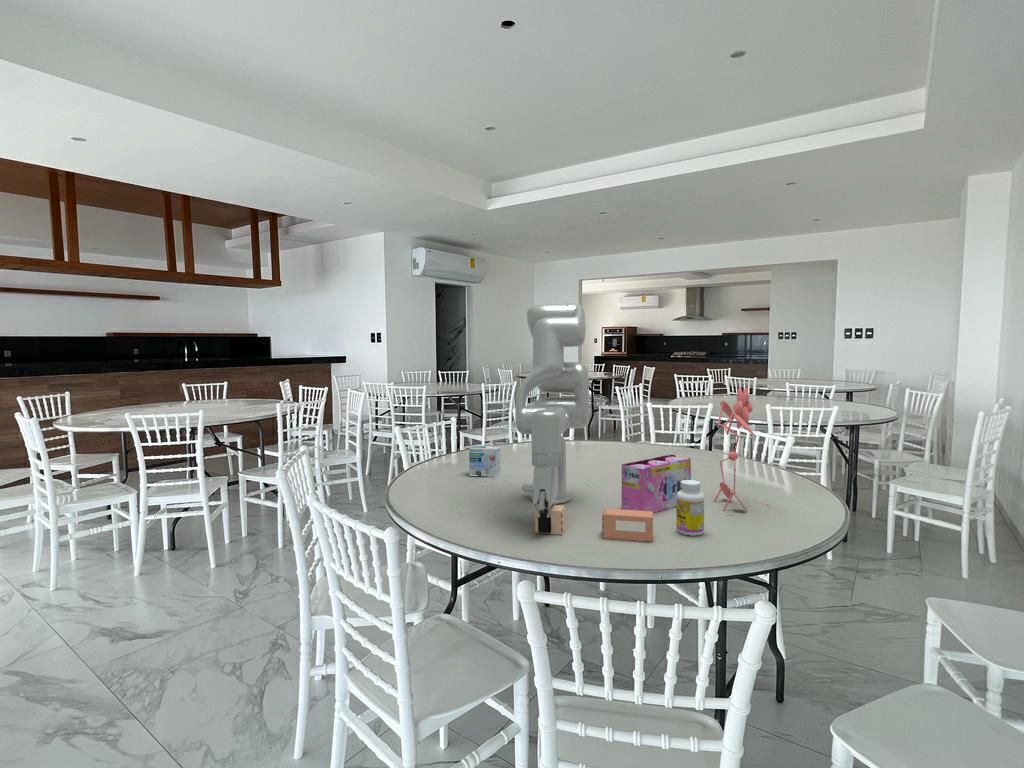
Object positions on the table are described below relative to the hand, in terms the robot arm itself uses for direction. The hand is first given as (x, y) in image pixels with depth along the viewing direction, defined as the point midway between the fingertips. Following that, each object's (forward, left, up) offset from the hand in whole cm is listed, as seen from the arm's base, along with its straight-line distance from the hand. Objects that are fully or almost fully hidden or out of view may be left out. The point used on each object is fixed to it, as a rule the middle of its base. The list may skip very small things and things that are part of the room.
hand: (547, 528), depth 138 cm
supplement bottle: (+35, +7, -1) cm, 36 cm away
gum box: (+27, +28, -1) cm, 39 cm away
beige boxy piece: (+1, 0, -1) cm, 1 cm away
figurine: (+51, +34, -1) cm, 62 cm away
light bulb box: (-35, +55, -1) cm, 65 cm away
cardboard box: (+20, 0, -1) cm, 20 cm away
